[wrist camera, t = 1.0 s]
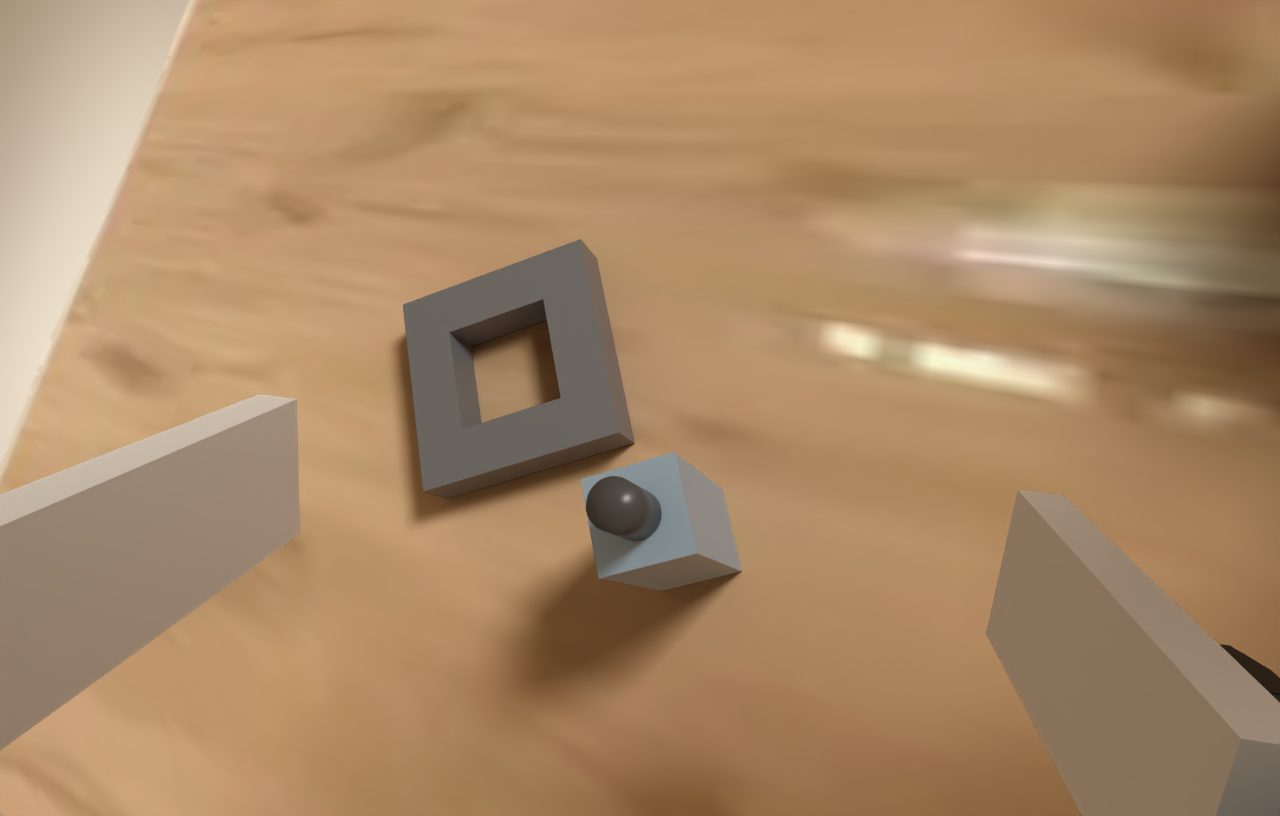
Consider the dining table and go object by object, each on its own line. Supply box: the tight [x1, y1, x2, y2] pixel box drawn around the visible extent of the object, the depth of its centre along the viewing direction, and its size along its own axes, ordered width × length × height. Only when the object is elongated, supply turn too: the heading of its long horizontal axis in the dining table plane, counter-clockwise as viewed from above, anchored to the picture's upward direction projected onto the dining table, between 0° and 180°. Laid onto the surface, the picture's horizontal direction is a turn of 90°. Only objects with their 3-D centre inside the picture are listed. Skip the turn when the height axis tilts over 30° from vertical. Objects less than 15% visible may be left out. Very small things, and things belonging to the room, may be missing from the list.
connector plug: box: [581, 452, 742, 591], centre depth 37 cm, size 4×4×12 cm
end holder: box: [403, 239, 634, 499], centre depth 47 cm, size 12×12×2 cm
